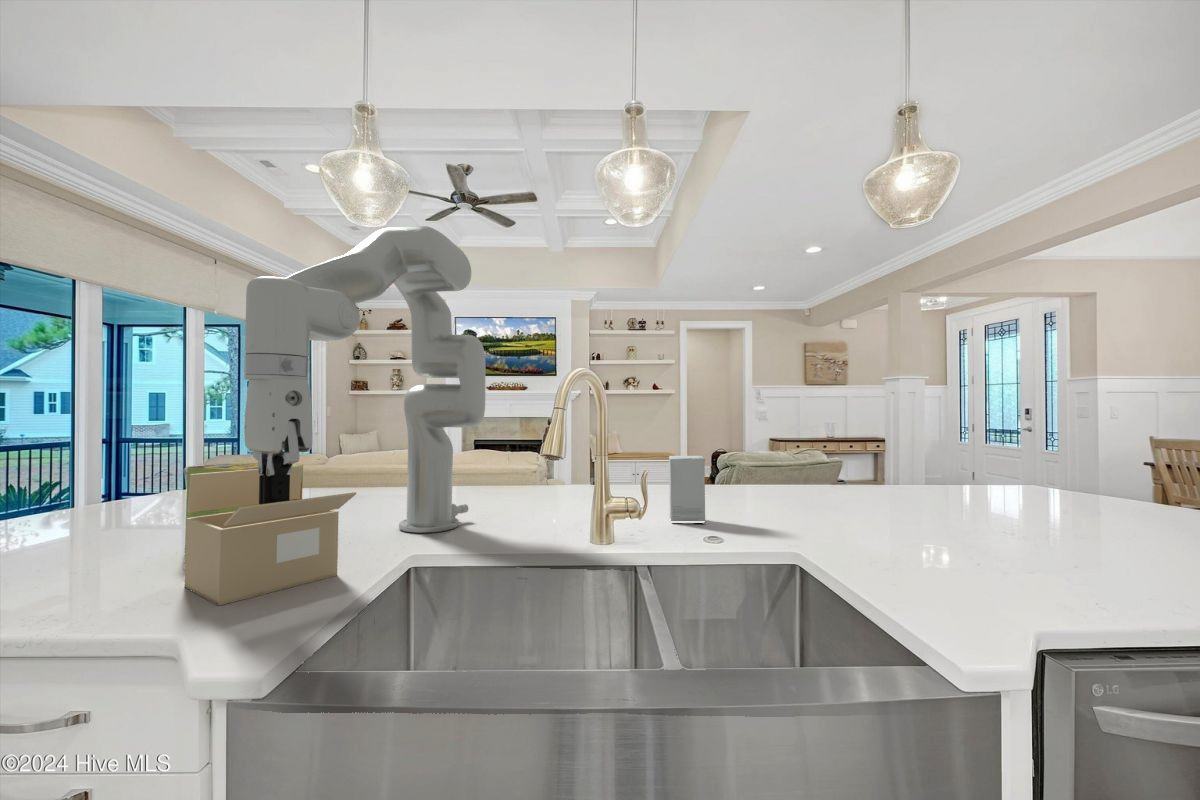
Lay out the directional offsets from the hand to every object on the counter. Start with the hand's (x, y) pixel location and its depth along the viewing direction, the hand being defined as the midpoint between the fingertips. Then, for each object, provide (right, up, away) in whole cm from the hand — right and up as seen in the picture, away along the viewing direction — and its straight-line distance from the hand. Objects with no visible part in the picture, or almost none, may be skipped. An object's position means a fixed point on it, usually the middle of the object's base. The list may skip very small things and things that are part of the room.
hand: (274, 503), depth 72 cm
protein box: (-21, -14, +25) cm, 35 cm away
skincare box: (+65, -15, +54) cm, 86 cm away
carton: (-6, -13, +8) cm, 16 cm away
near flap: (+1, -1, +3) cm, 3 cm away
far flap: (-11, 0, +11) cm, 15 cm away
